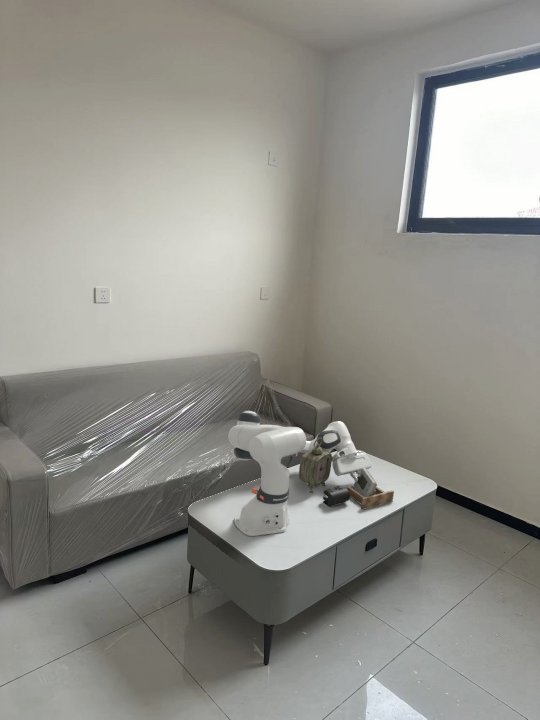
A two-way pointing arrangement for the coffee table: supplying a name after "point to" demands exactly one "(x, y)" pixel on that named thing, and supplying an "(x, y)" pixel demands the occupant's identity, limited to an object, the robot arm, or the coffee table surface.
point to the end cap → (336, 496)
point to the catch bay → (372, 498)
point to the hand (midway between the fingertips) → (358, 481)
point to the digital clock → (365, 484)
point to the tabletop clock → (315, 466)
